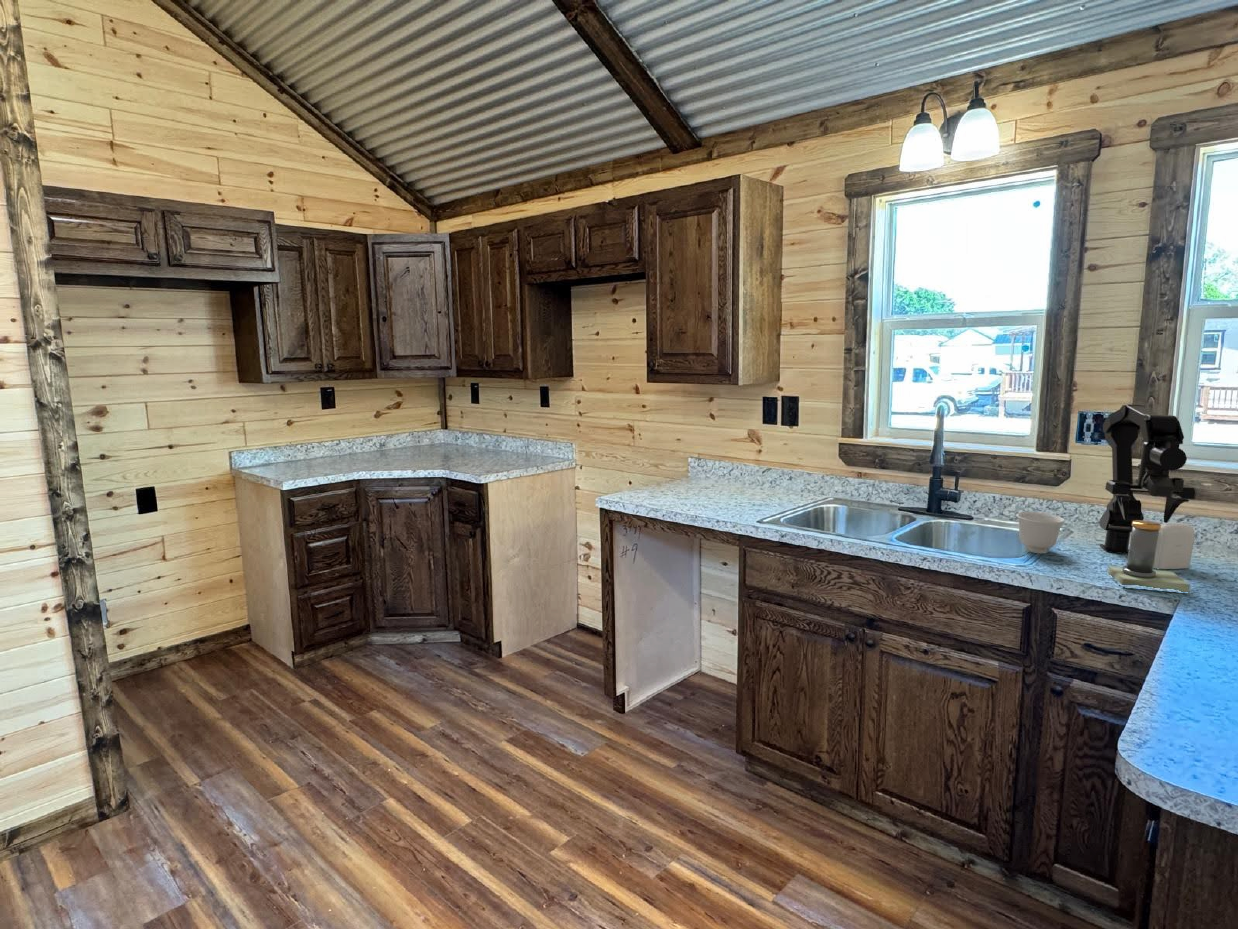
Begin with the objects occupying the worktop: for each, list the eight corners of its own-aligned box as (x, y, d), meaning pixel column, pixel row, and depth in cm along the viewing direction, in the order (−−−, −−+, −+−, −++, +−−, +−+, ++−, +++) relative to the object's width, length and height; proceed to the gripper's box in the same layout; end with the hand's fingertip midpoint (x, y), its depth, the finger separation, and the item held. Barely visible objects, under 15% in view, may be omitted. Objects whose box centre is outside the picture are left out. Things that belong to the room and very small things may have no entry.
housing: (1115, 569, 184) (1123, 519, 182) (1139, 569, 185) (1147, 519, 183) (1138, 578, 178) (1146, 527, 175) (1162, 577, 179) (1170, 526, 176)
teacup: (1060, 546, 213) (1064, 513, 211) (1060, 559, 200) (1065, 524, 198) (1013, 539, 219) (1017, 507, 217) (1011, 552, 206) (1015, 518, 204)
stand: (1107, 575, 188) (1108, 565, 188) (1170, 580, 184) (1171, 571, 184) (1121, 588, 179) (1123, 578, 178) (1188, 594, 175) (1189, 584, 174)
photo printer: (1156, 570, 192) (1163, 525, 190) (1143, 565, 196) (1150, 521, 194) (1192, 569, 193) (1199, 525, 191) (1178, 564, 197) (1185, 520, 195)
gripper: (1124, 466, 183) (1115, 525, 186) (1211, 471, 178) (1201, 532, 181) (1108, 458, 194) (1100, 515, 197) (1190, 463, 189) (1181, 521, 192)
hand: (1145, 521), depth 191 cm, fingers open, 9 cm apart
